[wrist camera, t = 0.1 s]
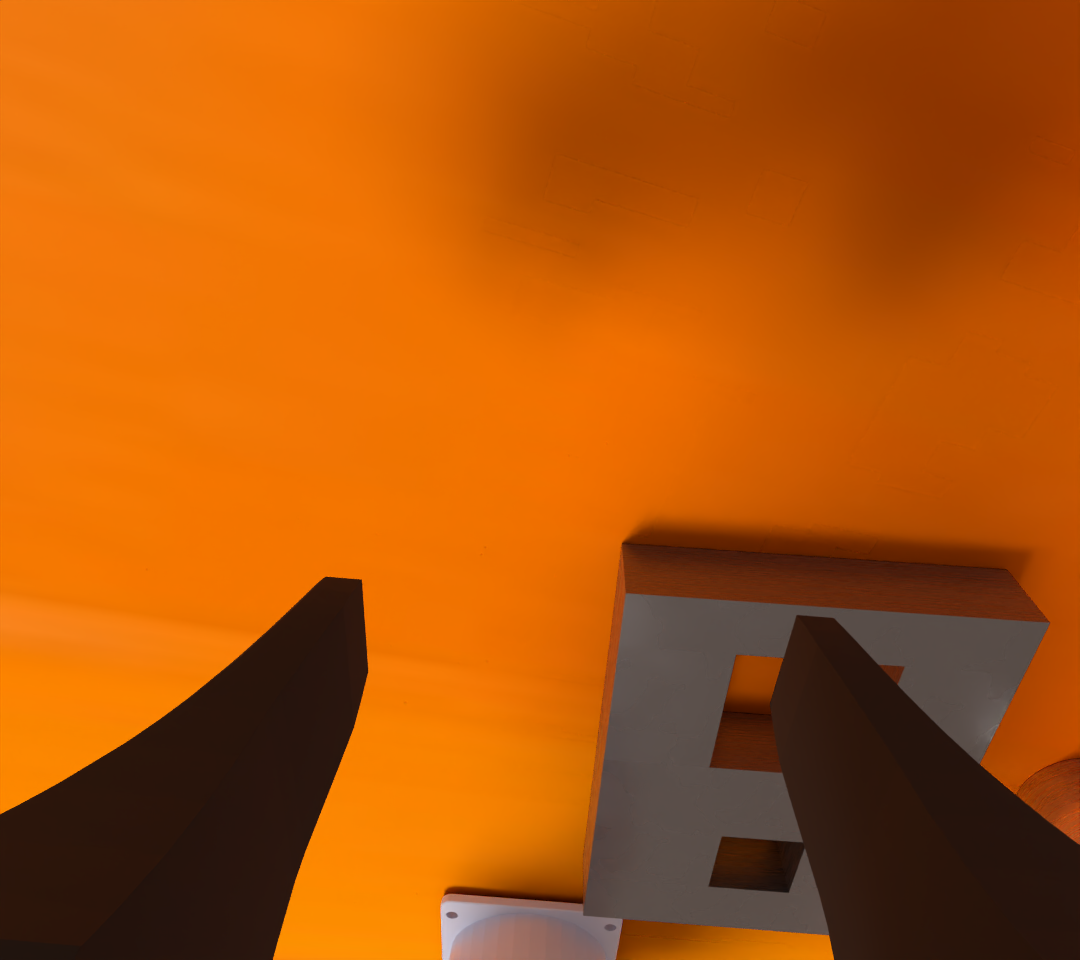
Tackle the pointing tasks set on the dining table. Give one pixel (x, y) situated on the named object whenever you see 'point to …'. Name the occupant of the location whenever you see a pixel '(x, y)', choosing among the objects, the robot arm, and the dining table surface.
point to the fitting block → (764, 717)
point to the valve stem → (1056, 796)
